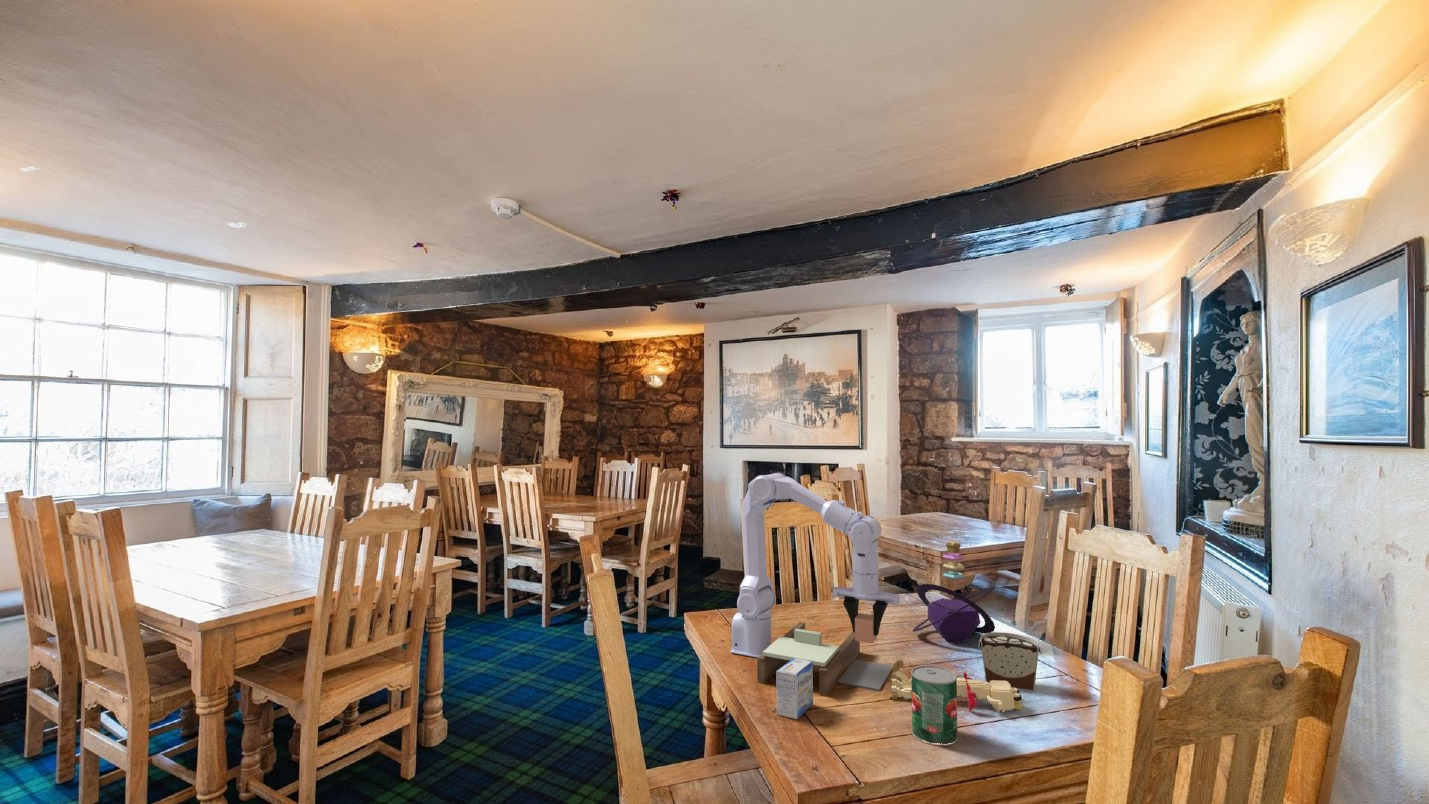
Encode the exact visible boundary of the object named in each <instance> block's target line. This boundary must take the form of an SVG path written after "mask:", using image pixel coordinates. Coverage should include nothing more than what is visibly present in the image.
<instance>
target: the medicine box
mask: <svg viewBox="0 0 1429 804" xmlns="http://www.w3.org/2000/svg"><path fill="white" fill-rule="evenodd" d="M813 667H814V665H813V663H812V662H811V661H807V660H803V659H797V658H793V659H792V660H791V661H790V660H788V661H787V662H786V663H784V664H783V665H782V666H781V667H780V668H779V669H778V670H777V671H776V672H775V673H776V674H775V675H776V679H775V681H776V684H775V685H776V714H777V715H779V716H781V717H785V718H789V719H794V720H798V719H799V718H800V717H801V716H802V715H804V713H805V712H806V711H807V710H809V708H811V706H813V704H814V683H813V682H814V681H813V680H814V679H813V678H814V677H813V676H814V675H813V673H814V671H813V669H814V668H813Z"/></svg>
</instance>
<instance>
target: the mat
mask: <svg viewBox="0 0 1429 804" xmlns="http://www.w3.org/2000/svg"><path fill="white" fill-rule="evenodd" d="M892 666H893V665H889V664H885V663H884V664H883V663H878V662H877V663H876V662H872V661H865V660H860V659H856V658H855V659H854V661H853V662H852V663H851V665H850V666H849V667H848V668H847V670H846V671H845V672H844V674H843V675H842V676H841V678H840V679H839V680H838V682H837V684H840V685H846V686H851V687H856V688H862V689H867V690H872V691H877V692H880V691H881V690H882V688H883V686H884V685H885V682H886V681H887V679H888V677H889V676H890V674H891V672H892Z"/></svg>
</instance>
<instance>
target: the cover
mask: <svg viewBox="0 0 1429 804" xmlns="http://www.w3.org/2000/svg"><path fill="white" fill-rule="evenodd" d="M839 646H840V645H836V644H835V645H834V644H828V643H822V632H820V631H815V630H808V629H805V630H802V629H795V630H794V639H793V638H787V637H783V636H779V637H778V638H777V639H776V640H775V641H774V642H771V645H770V646H769V647H768V648H766V649H765V650H764V651H763V656H768V657H774V658H779V659H784V660H788V661H791V660H792V659H793V658H797V659H803V660H807V661H811V662H812V663H813V666H819V667H822V666H823V667H825V666H826V664H827V663H828V662H829V661H830V660H831V659H832V657H833V656H834V655H835V654H836V653H837V652H838V650H839Z"/></svg>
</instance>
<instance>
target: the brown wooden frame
mask: <svg viewBox="0 0 1429 804" xmlns="http://www.w3.org/2000/svg"><path fill="white" fill-rule="evenodd" d="M795 629H802V630H806V622H803V621H802V622H801V621H800V622H798V623H797V624H796V625H794V626H793V627H792V628H791V629H789V630H788V631H787V632H786V633H785V634H784V635H783V636H782V637H787V638H793V639H794V630H795ZM860 643H861V641H855V632H853V630H852V632H850V634H848V636H847V637H846V638H845V639H844V640H843V642H842V643H841V644H839V645H838V646H839V650H838V652H837V653H836V654H835V655H834V656H833V657H832V659H831V660H830V661H829V662H828V663H827V664H826V666H825V667H823V666H820V668H819V670H818V672H819V673H818V675H819V677H818V679H819V682H818V684H819V686H818V692H819V693H818V694H819V696H824V697H827V696H828V694H830V692H831V691H832V690H833V688H834V687H835V686H836V685H837V684H838V680H839V679H840V678H841V676H842V675H843V674H844V672H845V671H846V670H847V668H848V667H849V666H850V665H851V663H852V662H853V661H854V659H855V660H856V658H857V657H858V655H860V653H861V651H860V649H861V646H860ZM756 658H757V657H756ZM756 662H757V664H756V666H757V667H756V668H757V669H756V671H757V672H756V674H757V676H756V677H757V683H760V684H765V683H766V682H767V681H768V680H769V679H770V678H771V677H772V676H773V675H774V674H775V673H776V671H777V670H779V669H780V668H781V667H783V666H784V665H785V664H786V663H788V662H789V660H784V659H779V658H774V657H768V656H763V654H762V655H760V656H759V657H758V658H757V661H756Z"/></svg>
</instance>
